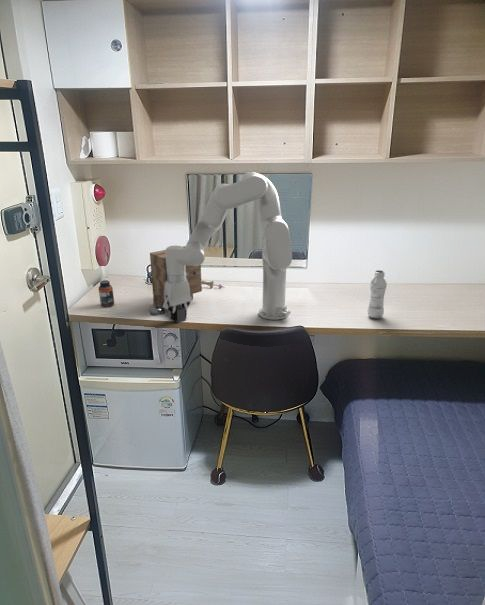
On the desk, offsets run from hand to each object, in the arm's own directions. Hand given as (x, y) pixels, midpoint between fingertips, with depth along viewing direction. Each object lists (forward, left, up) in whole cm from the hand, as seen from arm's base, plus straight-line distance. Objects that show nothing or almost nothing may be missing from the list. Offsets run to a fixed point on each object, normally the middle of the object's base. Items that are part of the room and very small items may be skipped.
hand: (179, 318), depth 189 cm
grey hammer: (+7, 0, -1) cm, 7 cm away
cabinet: (+16, -10, -1) cm, 19 cm away
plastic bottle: (-51, -64, -1) cm, 82 cm away
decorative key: (+26, -33, -1) cm, 42 cm away
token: (+13, +3, -1) cm, 13 cm away
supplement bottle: (+35, +15, -1) cm, 38 cm away
